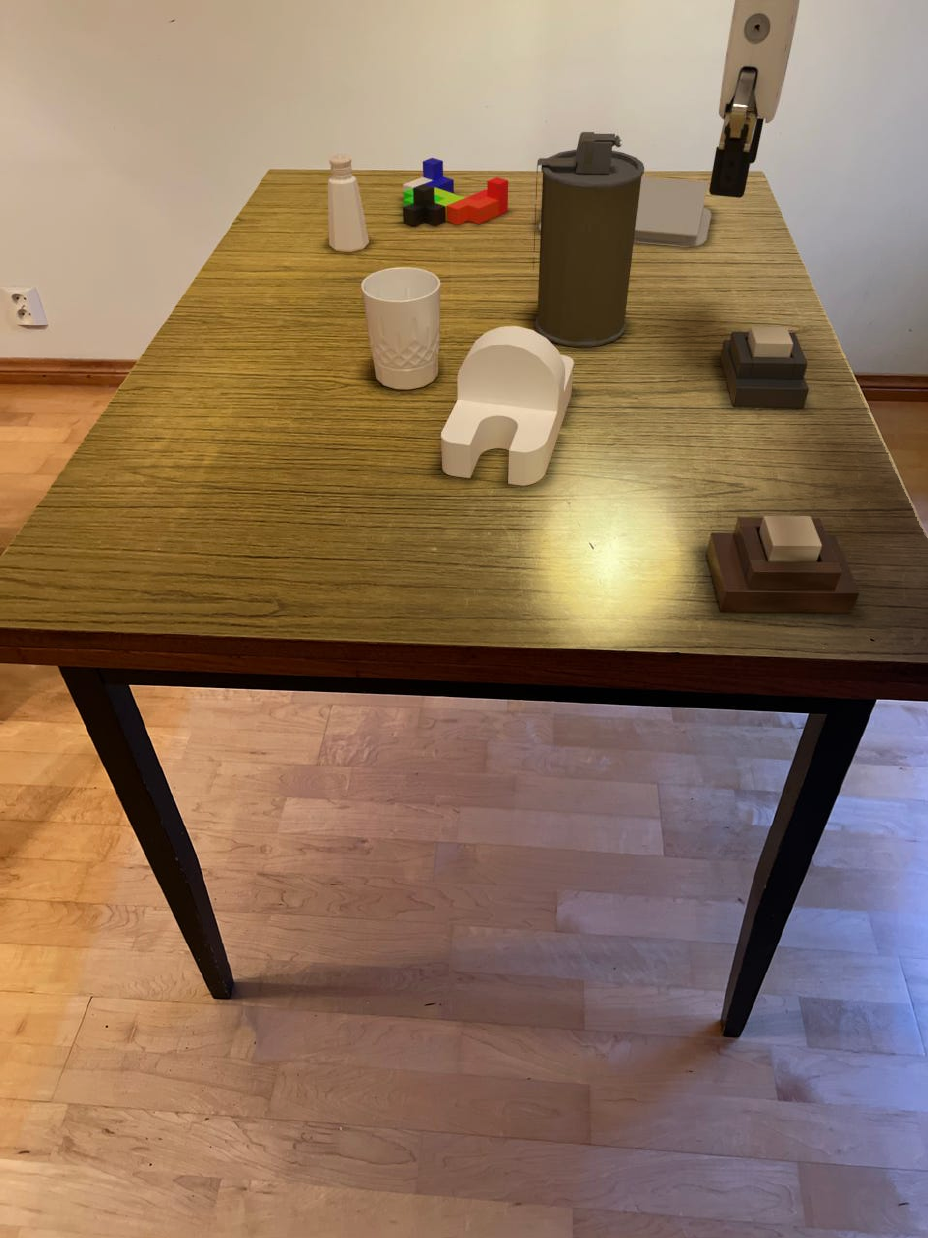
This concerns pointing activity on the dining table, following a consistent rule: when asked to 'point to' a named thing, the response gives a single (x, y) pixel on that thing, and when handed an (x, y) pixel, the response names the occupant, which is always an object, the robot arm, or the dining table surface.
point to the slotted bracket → (508, 404)
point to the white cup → (403, 325)
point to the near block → (778, 574)
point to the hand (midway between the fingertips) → (732, 177)
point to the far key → (769, 342)
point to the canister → (586, 241)
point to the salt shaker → (345, 208)
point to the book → (671, 212)
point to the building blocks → (450, 199)
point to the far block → (764, 375)
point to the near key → (790, 538)
